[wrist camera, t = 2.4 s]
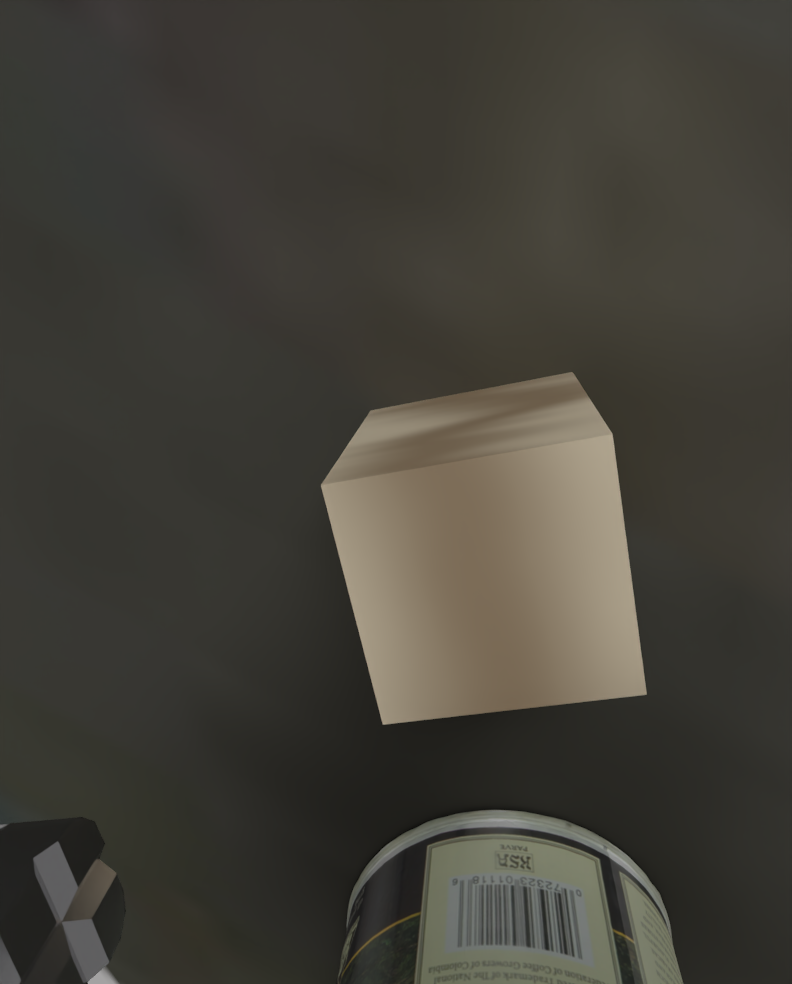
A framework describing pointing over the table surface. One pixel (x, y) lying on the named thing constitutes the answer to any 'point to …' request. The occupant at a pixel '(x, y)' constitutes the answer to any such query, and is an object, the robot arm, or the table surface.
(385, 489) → the beech block
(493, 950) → the coffee can
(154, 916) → the table surface
